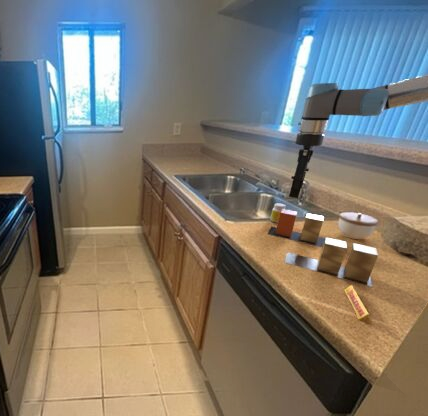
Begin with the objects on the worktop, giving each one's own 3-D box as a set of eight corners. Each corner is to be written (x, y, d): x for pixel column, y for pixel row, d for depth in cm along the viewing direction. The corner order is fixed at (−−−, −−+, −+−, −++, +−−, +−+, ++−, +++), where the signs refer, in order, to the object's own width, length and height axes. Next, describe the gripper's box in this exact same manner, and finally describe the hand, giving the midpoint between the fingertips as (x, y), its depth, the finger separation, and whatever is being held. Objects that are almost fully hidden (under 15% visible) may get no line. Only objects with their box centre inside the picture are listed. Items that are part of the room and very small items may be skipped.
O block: (317, 238, 103) (323, 216, 100) (316, 243, 100) (323, 220, 97) (301, 234, 106) (307, 213, 103) (299, 239, 103) (305, 217, 99)
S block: (292, 232, 108) (297, 211, 105) (290, 237, 104) (296, 215, 101) (277, 229, 111) (282, 208, 108) (275, 233, 107) (280, 212, 104)
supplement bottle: (282, 226, 114) (287, 207, 111) (269, 224, 117) (273, 205, 114) (282, 222, 118) (286, 203, 115) (269, 220, 121) (273, 202, 117)
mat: (325, 238, 104) (325, 238, 103) (324, 248, 97) (324, 247, 97) (271, 226, 114) (271, 226, 114) (267, 234, 108) (267, 234, 107)
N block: (365, 274, 82) (376, 248, 78) (367, 282, 78) (378, 255, 75) (344, 268, 84) (353, 243, 81) (344, 276, 81) (353, 249, 78)
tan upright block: (337, 267, 85) (346, 241, 82) (337, 274, 82) (347, 248, 79) (317, 262, 88) (325, 237, 85) (317, 269, 85) (325, 243, 81)
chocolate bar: (355, 292, 74) (357, 286, 74) (372, 323, 64) (375, 315, 64) (343, 290, 76) (345, 283, 75) (358, 319, 65) (361, 312, 65)
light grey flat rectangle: (369, 274, 82) (369, 273, 82) (372, 287, 76) (372, 286, 76) (287, 252, 94) (287, 252, 94) (284, 263, 89) (284, 262, 89)
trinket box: (345, 228, 111) (352, 206, 108) (378, 239, 102) (386, 216, 99) (327, 232, 108) (334, 210, 105) (359, 245, 99) (368, 221, 95)
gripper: (301, 129, 104) (287, 182, 112) (293, 136, 86) (278, 199, 94) (325, 130, 100) (310, 186, 108) (323, 137, 82) (305, 204, 89)
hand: (295, 192), depth 101 cm, fingers open, 13 cm apart
